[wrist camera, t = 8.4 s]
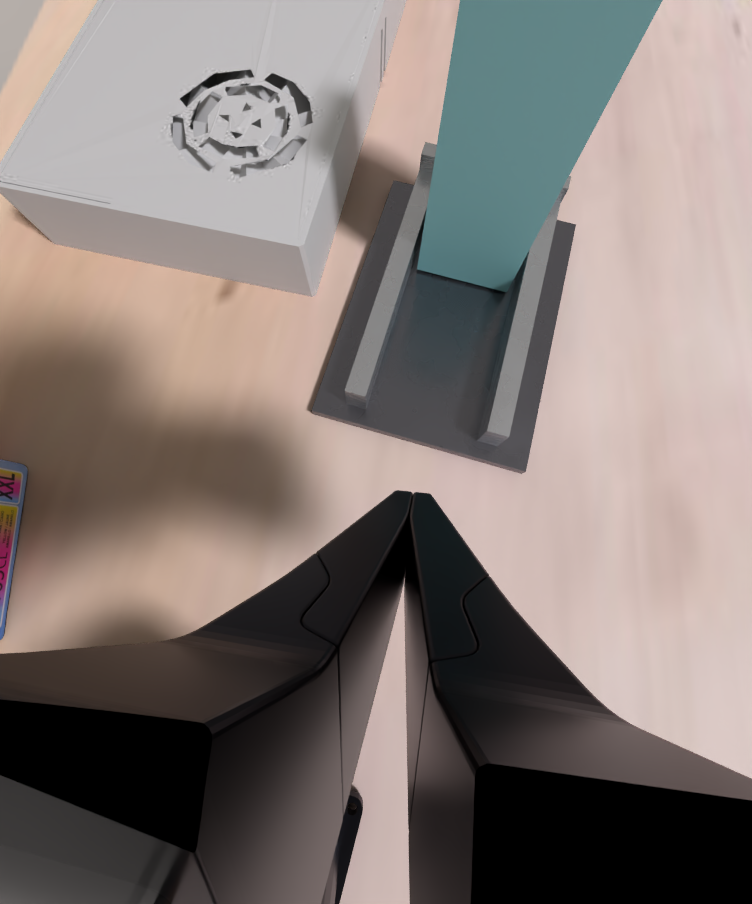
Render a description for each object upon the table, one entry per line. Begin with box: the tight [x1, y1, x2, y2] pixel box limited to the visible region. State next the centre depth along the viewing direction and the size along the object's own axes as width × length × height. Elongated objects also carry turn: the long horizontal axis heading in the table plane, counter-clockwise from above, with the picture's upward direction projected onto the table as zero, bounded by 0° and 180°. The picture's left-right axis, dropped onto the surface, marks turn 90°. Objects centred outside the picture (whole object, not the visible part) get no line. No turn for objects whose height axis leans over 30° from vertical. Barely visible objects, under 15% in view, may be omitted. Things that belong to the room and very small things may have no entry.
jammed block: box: [417, 0, 662, 292], centre depth 18 cm, size 5×6×14 cm
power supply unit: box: [0, 0, 406, 297], centre depth 27 cm, size 19×33×5 cm, turn 167°
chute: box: [311, 142, 576, 474], centre depth 23 cm, size 18×13×4 cm
